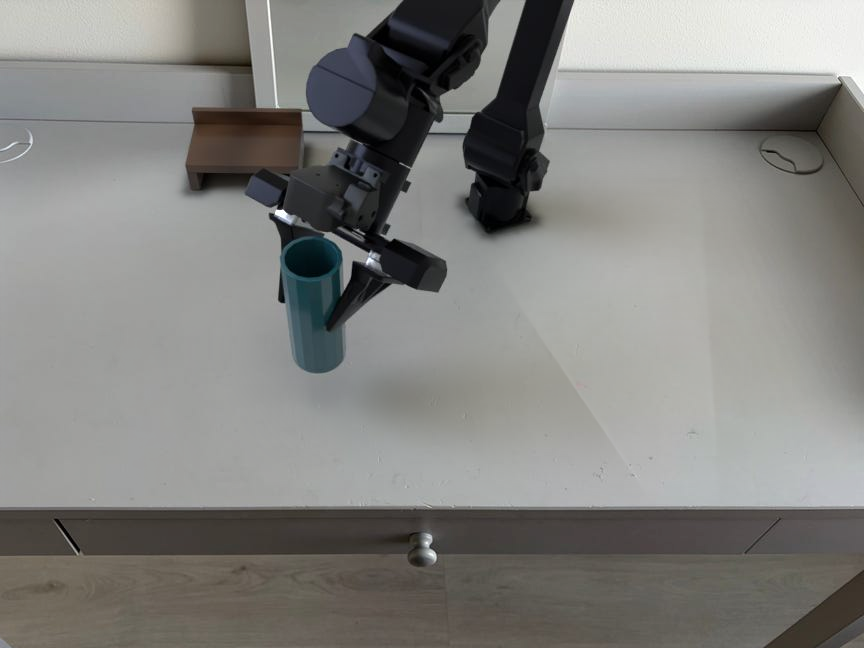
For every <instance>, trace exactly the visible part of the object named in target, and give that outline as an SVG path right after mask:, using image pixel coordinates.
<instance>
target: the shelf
mask: <svg viewBox="0 0 864 648" xmlns="http://www.w3.org/2000/svg"><path fill="white" fill-rule="evenodd" d="M191 115H192V120H193V124H194V125H193V128H192V131H191V132H192V133H191V137H190V141H189V146H188V151H187V155H186V160H185V163H184V166H185V169H186V171H185V172H186V175H187V179H188V180H187V181H188V184H189V188H190V190H191V191H200V190H201V187H202V183H203V177H204V173H205V174H255V173H257V172H258V171H259V170H261V169H263V168H265V169H268V170H271V171H274V172H276V173H279V174H282V175H286V174H287V175H290V173H291V171H293V170H297V169H302V168H304V157H305V134H304V119H303V108H294V107H293V108H290V107H289V108H288V107H287V108H284V107H283V108H281V107H280V108H279V107H219V106H218V107H217V106H216V107H211V106H210V107H209V106H208V107H207V106H192V108H191Z"/></svg>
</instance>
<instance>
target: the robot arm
mask: <svg viewBox="0 0 864 648" xmlns="http://www.w3.org/2000/svg"><path fill="white" fill-rule="evenodd" d="M500 2H501V0H402V1H400V2H399V3H398V5H397V6H396V7H395V9H394V10H392V11H391V12H390V13H389V14H387V16H386V17H385V18H383V19H382V21H380V22H379V23H378V24H377V25H376V26H375V27H374V28H373V29H372V30H371V31H370V32H369V33H368V34H367V35H365V36H364V35H362V34H359V33H357V32H354V33H352V35H351V38H350V40H349V42H348V44H347V47H340V48H335V49H333V50H332V51H330V52H327V53H326V54H325V55H324V56H323V57H321V58H320V59H319V60H318V61H317V63H316V64H315V65H312V67H311V69H310V72H309V74H308V77H307V80H306V85H305V98H306V99H305V100H306V103H307V107H308V109H309V111H310V113H311V115H312V116H313V117H314V118H315V119H316V120H317V121H318V122H319V123H320V124H322V125H325V126H326V127H329V128H330V129H332V130H334V131H335V132H338V133H340V134H342V135H344V136H345V137H348V138H349V141H348V144H347V146H346V148H345V149H344V148H342V147H340V146H337V149H336V150H335V151H334V152H333V153H332V155H331V157H330V160H329V161H328V162H327V164H326V165H311V166H307V167H303V168H302V169H297V170H293V171H291V173H290V174H289V176H288V175H286V174H279V173H276V172H274V171H271V170H268V169H265V168H263V169H261V170H259V171H258V172H257V173H253V175H251V176H250V179H249V181H248V183H247V186H246V188H245V190H244V196H246V197H249V198H250V199H252V200H254V201H255V202H257V203H259V204H261V205H262V206H265V207H266V208H269V209H272V208H275V207H276V209H275V210H274V213H272V212H268V219H269V220H270V221H272V222H273V223H274V224H275V227H276V230H277V232H278V235H279V237H280V254H281V253H282V251H283V249H284V247H286V246H287V245H288V244H289V243H290V242H291V241H293V240H296V239H298V238H301V237H307V236H318V237H323V238H325V236H326V234H325V233H332V234H334V235H335V236H337V237H339V238H340V239H343V240H345V241H346V242H348V243H350V244H351V245H353V246H355V247H357V248H358V249H361V250H362V251H365V252H366V253H367V254H368V255H367V259H366V261H365V262H364V261H358V260H352V262H351V270H350V271H351V272H350V278H349V280H348V282H347V284H346V286H345V287H344V292H343V294H342V295H341V297H340V299H339V301H338V303H337V305H336V307H335V309H334V311H333V312H332V314H331V317H330V319H329V322H328V324H327V327H326V331H327V332H329V333H333V332H335V331H336V330H337V329H338V328H339V327H340V326H342V325H343V324H344V323H345V324H346V322H347V321H348V320H350V319H351V318H352V317H353V316H354V315H355V314H356V313H357V312H358V311H359V310H361V309H362V308H363V307H364V306H366V304H367V303H369V302H370V301H371V300H373V299H374V298H376V296H378V295H380V294H381V293H382V292H383V291H385V290H386V289H387V288H389V287H390V286H392V285H398V286H399V285H400V286H407V287H409V288H411V289H414V290H416V291H422V292H431V293H440V290H441V289H442V286H443V284H444V282H445V280H446V278H447V276H448V265H447V261H446V260H445V259H443V258H442V257H440V256H438V255H436V254H434V253H432V252H430V251H428V250H426V249H424V248H423V247H421V246H419V245H417V244H415V243H413V242H409V241H406V240H401V239H398V238H395V237H394V238H393V239H391V240H390V239H388V238H386V237H384V236H387V235H388V233H389V230H390V228H391V226H392V225H391V224H389V223H387V221H388V218H389V217H390V214H391V213H392V210H393V208H394V206H395V204H396V202H397V200H398V198H399V196H400V194H401V192H403V193H405V194H407V193H408V191H409V188H410V187H411V185H412V182H411V181H409V180H407V179H408V177H409V174H410V173H411V170H412V168H413V166H414V164H415V162H416V160H417V158H418V155H419V154H420V151H421V150H422V147H423V145H424V143H425V141H426V139H427V137H428V135H429V132H431V131H430V130H431V129H432V127H433V124H434V122H435V123H437V124H440V123H442V122H443V120H444V109H443V105H442V103H441V96H443V95H445V94H446V93H448V92H450V91H452V90H454V91H456V90H458V89H459V88H460V87H461V86H462V85H463V84H464V83H466V82H468V81H469V80H470V79H471V78H472V77H474V75H475V74H476V71H477V70H478V68H479V67H480V65H481V63H482V62H481V61H482V56H483V54H484V52H485V50H486V48H487V47H488V44H489V25H490V24H489V21H490V18H491V16H492V15H493V12H494V11H495V10H496V7H497V6H498V5H499V3H500ZM574 3H575V0H525V1H524V4H523V7H522V9H521V10H522V11H521V12H520V13H521V14H520V17H519V20H518V23H517V27H516V30H515V34H514V37H513V40H512V43H511V47H510V51H509V53H508V57H507V59H506V62H505V65H504V69H503V73H502V76H501V78H500V82H499V86H498V90H497V92H496V95H495V97H494V98H493V99H492V100H491V101H490V102H489V103H487V105H485V107H483V108H482V109H481V110H480V111H476V112H475V114H473V116H472V117H471V120H470V125H469V128H468V130H467V131H466V133H465V135H464V138H463V141H462V145H461V146H462V157H463V161H464V168H465V169H466V170H470V171H472V172H475V173H474V174H475V175H474V181H473V182H471V185H470V188H469V196H467V197H465V198H464V205H466V206H467V210H468V211H469V212H470V214H471V216H472V217H473V219H474V220H475V221H476V222H477V223H478V224H479V226H480V227H481V228H482V230H483V231H484V232H485V233H486V234H492V233H495V232H499V231H503V230H506V229H509V228H513V227H517V226H521V225H523V224H527V223H530V222H532V220H533V216H532V214H531V213H530V212H529V210H528V209H527V207H528V202H529V197H530V194H531V192H532V193H533V192H539V191H540V190H541V189H542V186H543V183H544V182H543V181H544V178H545V177H546V175H547V173H548V168H549V165H550V162H551V160H550V159H549V158H547V156H545V154H543V153H542V152H541V151H540V150H541V147H542V143H543V140H544V137H545V127H544V122H543V117H542V113H541V109H540V103H541V100H542V98H543V94H544V91H545V89H546V85H547V82H548V79H549V76H550V73H551V70H552V69H553V65H554V62H555V59H556V56H557V53H558V50H559V47H560V44H561V42H562V39H563V35H564V32H565V30H566V27H567V24H568V20H569V18H570V16H571V12H572V9H573V6H574ZM279 266H280V268H279V280H278V291H277V293H278V294H277V302H278V303H280V304H284V305H286V304H285V296H284V288H283V281H282V273H281V265H279Z"/></svg>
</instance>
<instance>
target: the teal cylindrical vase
mask: <svg viewBox="0 0 864 648" xmlns="http://www.w3.org/2000/svg"><path fill="white" fill-rule="evenodd" d="M279 263H280V264H279V266H281V273H282V281H283V288H284V296H285V304H284V305H285V311H286V319H287V327H288V333H289V334H288V335H289V341H290V349H291V350H290V351H291V356H292V359H293V360H292V361H293V362H294V363H295V365H296V366H297V367H298V368H299V369H301V370H303V371H304V372H307V373H309V374H310V373H311V374H325V373H329V372H332V371H334V370H336V369H338V368H339V366H341V365H342V363H343V362H344V360H345V358H346V354H347V353H346V352H347V335H346V322H345V323H344V324H343V325H342V326H340V327H339V328H338V329H337V330H336V331H335V332H333V333H329V332H327V331H326V327H327V324H328V322H329V319H330V317H331V314H332V312H333V311H334V309H335V307H336V305H337V303H338V301H339V299H340V297H341V295H342V294H343V292H344V290H345V280H344V258H343V252H342V249H341V248H340V247H339V246H338V245H337V243H336V242H334V241H332V240H330V239H329V238H326V237H318V236H307V237H301V238H298V239H296V240H293V241H291V242H290V243H289V244H288V245H287V246H286V247H284V249H283V251H282V253H281V252H280V255H279Z"/></svg>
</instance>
